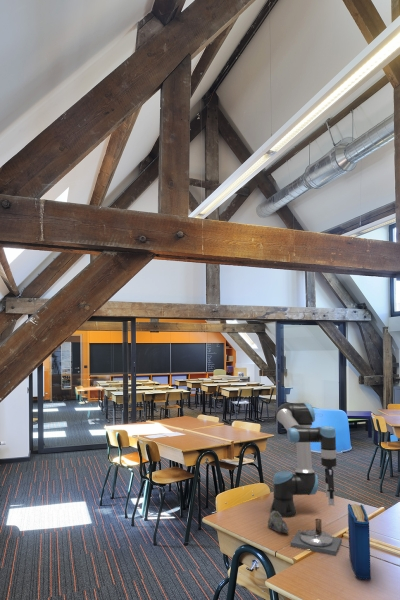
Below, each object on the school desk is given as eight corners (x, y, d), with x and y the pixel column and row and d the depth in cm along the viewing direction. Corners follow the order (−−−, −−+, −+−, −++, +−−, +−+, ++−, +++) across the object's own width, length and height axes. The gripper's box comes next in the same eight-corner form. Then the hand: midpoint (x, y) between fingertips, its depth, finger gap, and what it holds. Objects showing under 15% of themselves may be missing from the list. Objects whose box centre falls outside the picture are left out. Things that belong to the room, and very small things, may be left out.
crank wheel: (304, 530, 233) (303, 515, 234) (335, 536, 226) (334, 521, 227) (296, 542, 219) (296, 526, 220) (329, 549, 212) (329, 532, 213)
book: (373, 582, 186) (370, 520, 188) (355, 580, 187) (353, 519, 190) (364, 559, 207) (362, 503, 209) (348, 557, 208) (347, 502, 211)
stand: (298, 534, 235) (298, 529, 235) (341, 542, 225) (341, 537, 225) (290, 546, 219) (290, 541, 220) (335, 555, 210) (335, 550, 210)
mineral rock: (289, 536, 231) (288, 516, 232) (268, 535, 232) (268, 515, 234) (286, 527, 244) (286, 508, 245) (267, 526, 245) (267, 507, 246)
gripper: (339, 463, 214) (340, 509, 211) (333, 453, 238) (335, 494, 235) (323, 462, 215) (324, 508, 213) (319, 452, 240) (320, 493, 237)
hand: (330, 501), depth 224 cm, fingers open, 13 cm apart
